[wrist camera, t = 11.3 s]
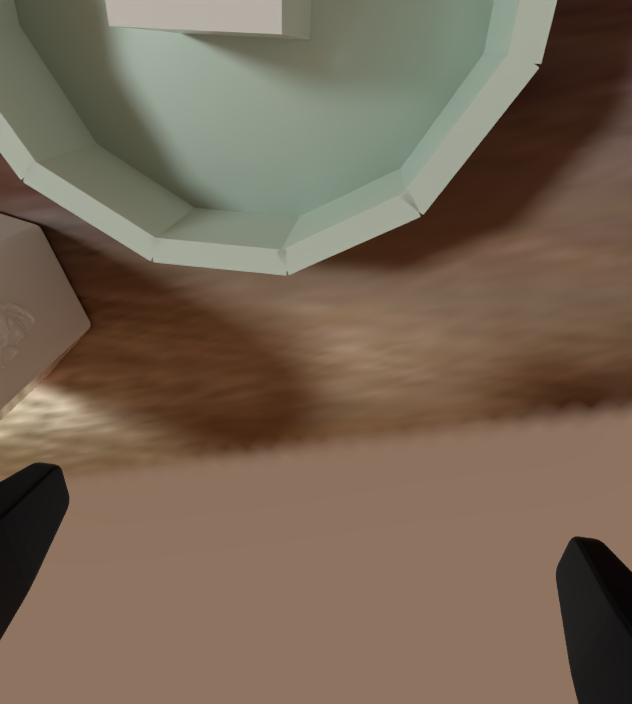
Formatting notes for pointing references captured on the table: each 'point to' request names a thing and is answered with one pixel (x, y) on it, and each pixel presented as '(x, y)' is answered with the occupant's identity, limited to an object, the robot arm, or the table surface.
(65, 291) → the lidded white canister
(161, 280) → the table surface
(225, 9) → the block
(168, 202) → the bowl
